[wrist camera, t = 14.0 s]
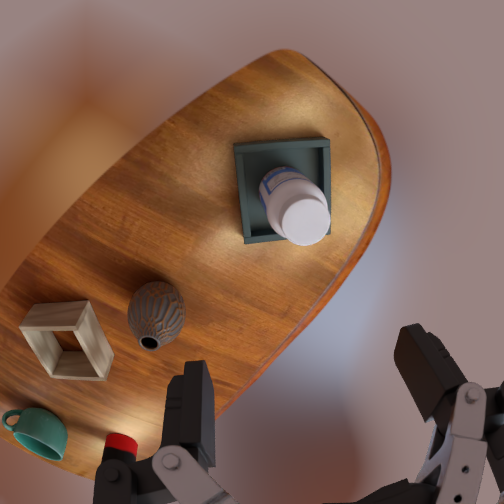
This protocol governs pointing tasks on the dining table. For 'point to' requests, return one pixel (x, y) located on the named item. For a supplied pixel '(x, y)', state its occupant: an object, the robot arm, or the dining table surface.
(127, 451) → the soda can
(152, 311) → the vase
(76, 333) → the crate
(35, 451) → the mug
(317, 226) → the pill bottle
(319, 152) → the tray
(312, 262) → the dining table surface
